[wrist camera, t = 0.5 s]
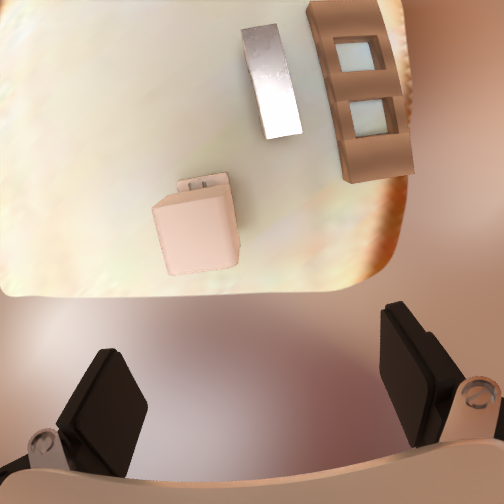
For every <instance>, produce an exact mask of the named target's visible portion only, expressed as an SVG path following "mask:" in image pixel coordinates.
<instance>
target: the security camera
mask: <svg viewBox="0 0 504 504" xmlns="http://www.w3.org/2000/svg"><path fill="white" fill-rule="evenodd" d="M203 182H205V183H206V186H207V187H208V188H202V187H203V184H202V183H203ZM177 188H178V193H176V194H172V195H168V196H166V197H165V198H164V199H162V200H161V201H160V202H158V203H157V204H156V205H154V206H153V207H152V212H153V216H154V221H155V225H156V229H157V233H158V237H159V241H160V245H161V249H162V253H163V256H164V260H165V264H166V268H167V271H168V274H169V275H181V274H188V273H195V272H202V271H209V270H216V269H223V268H230V267H233V266H235V265H237V264H238V259H239V251H240V240H239V234H238V229H237V223H236V217H235V211H234V205H233V200H232V194H231V189H230V183H229V177H228V173H227V172H223V173H217V174H211V175H206V176H200V177H195V178H190V179H185V180H181V181H179V182H178V183H177Z"/></svg>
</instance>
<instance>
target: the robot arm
mask: <svg viewBox="0 0 504 504" xmlns="http://www.w3.org/2000/svg"><path fill="white" fill-rule="evenodd" d="M380 334H381V335H380V337H381V338H380V367H379V368H380V375H381V378H382V381H383V383H384V385H385V387H386V390H387V392H388V394H389V397H390V399H391V401H392V403H393V406H394V408H395V410H396V413H397V415H398V417H399V420H400V422H401V425H402V427H403V429H404V432H405V434H406V437H407V439H408V442H409V444H410V446H411V447H412V448H414V447H416V449H413V450H409V451H405V452H401V453H398V454H394V455H391V456H387V457H383V458H380V459H376V460H372V461H368V462H363V463H359V464H354V465H350V466H345V467H341V468H336V469H331V470H326V471H320V472H314V473H308V474H302V475H295V476H287V477H279V478H270V479H259V480H247V481H229V482H168V481H150V480H138V479H128V478H125V477H126V475H127V472H128V469H129V465H130V462H131V459H132V456H133V453H134V450H135V447H136V443H137V440H138V437H139V434H140V431H141V428H142V425H143V422H144V419H145V416H146V413H147V410H148V404H147V401H146V400H145V398H144V396H143V394H142V393H141V391H140V389H139V387H138V385H137V383H136V381H135V380H134V378H133V376H132V374H131V372H130V370H129V368H128V366H127V364H126V362H125V360H124V358H123V356H122V354H121V353H120V352H117V350H116V349H113V348H110V349H101V350H99V352H98V353H97V355H96V356H95V358H94V359H93V361H92V363H91V364H90V366H89V367H88V369H87V371H86V372H85V374H84V376H83V377H82V379H81V381H80V383H79V384H78V386H77V387H76V389H75V391H74V392H73V394H72V396H71V398H70V399H69V401H68V403H67V404H66V406H65V408H64V410H63V411H62V414H61V415H60V417H59V418H58V420H57V422H56V425H57V427H58V428H59V430H58V432H57V431H55V430H54V429H51V428H48V429H47V428H46V429H42V430H40V431H38V432H36V433H35V434H34V435H33V436H32V437H31V439H30V440H29V443H28V449H27V450H28V454H27V455H25V456H23V457H21V458H19V459H17V460H15V461H13V462H11V463H9V464H7V465H5V466H3V467H1V468H0V504H504V398H503V397H501V390H500V387H499V385H498V384H497V383H496V382H495V381H493V380H492V379H490V378H487V377H483V376H475V377H470V378H468V379H466V378H465V377H464V375H463V374H462V372H461V371H460V370H459V368H458V367H457V365H456V364H455V363H454V362H453V360H452V359H451V357H450V356H449V354H448V353H447V352H446V350H445V349H444V348H443V346H442V345H441V344H440V343H439V341H438V340H437V338H436V337H435V336H434V334H433V333H431V332H426V331H425V330H424V329H423V327H422V326H421V325H420V324H419V322H418V321H417V320H416V318H415V317H414V316H413V314H412V313H411V312H410V310H409V309H408V308H407V306H406V305H405V304H404V303H403V302H402V301H399V302H395V303H391V304H387V305H386V306H385V309H384V310H381V329H380Z"/></svg>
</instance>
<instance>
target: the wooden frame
mask: <svg viewBox="0 0 504 504" xmlns="http://www.w3.org/2000/svg"><path fill="white" fill-rule="evenodd" d="M306 13H307V17H308V20H309V24H310V27H311V31H312V34H313V38H314V41H315V45H316V49H317V53H318V57H319V61H320V65H321V69H322V73H323V77H324V81H325V85H326V90H327V94H328V99H329V103H330V108H331V113H332V117H333V122H334V127H335V133H336V138H337V143H338V149H339V154H340V160H341V166H342V172H343V178H344V180H345V181H347V182H349V183H351V184H354V183H360V182H365V181H371V180H378V179H384V178H390V177H396V176H403V175H410V174H414V164H413V157H412V149H411V141H410V135H409V128H408V122H407V116H406V111H405V106H404V100H403V95H402V91H401V86H400V81H399V77H398V72H397V68H396V64H395V60H394V56H393V52H392V49H391V45H390V41H389V38H388V34H387V31H386V28H385V24H384V21H383V18H382V15H381V12H380V9H379V6H378V3H377V0H325V1H310V3H309V5H308V7H307V10H306ZM355 42H368V43H369V47H370V50H371V54H372V58H373V62H374V66H375V70H368V71H355V72H343V73H342V71H341V67H340V63H339V59H338V55H337V51H336V47H335V44H339V43H355ZM377 99H382V102H383V107H384V112H385V117H386V123H387V129H388V133H386V134H377V135H369V136H362V137H355V132H354V127H353V121H352V116H351V111H350V106H349V102H356V101H366V100H377Z"/></svg>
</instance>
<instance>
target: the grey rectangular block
mask: <svg viewBox="0 0 504 504" xmlns="http://www.w3.org/2000/svg"><path fill="white" fill-rule="evenodd" d="M241 34H242V41H243V46H244V53H245V59H246V63H247V67H248V71H249V73H250V75H251V79H252V83H253V87H254V91H255V96H256V100H257V104H258V109H259V113H260V115H259V118H260V123H261V127H262V132H263V134H264V136H265V139H272V138H277V137H282V136H288V135H293V134H299V133H303V132H302V128H301V123H300V118H299V114H298V109H297V105H296V100H295V96H294V91H293V87H292V83H291V79H290V74H289V70H288V66H287V62H286V58H285V54H284V50H283V47H282V43H281V39H280V35H279V31H278V28H277V24H271V25H265V26H259V27H253V28H248V29H242V30H241Z"/></svg>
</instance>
